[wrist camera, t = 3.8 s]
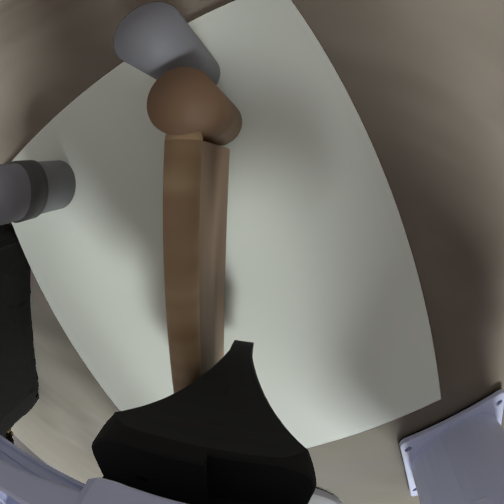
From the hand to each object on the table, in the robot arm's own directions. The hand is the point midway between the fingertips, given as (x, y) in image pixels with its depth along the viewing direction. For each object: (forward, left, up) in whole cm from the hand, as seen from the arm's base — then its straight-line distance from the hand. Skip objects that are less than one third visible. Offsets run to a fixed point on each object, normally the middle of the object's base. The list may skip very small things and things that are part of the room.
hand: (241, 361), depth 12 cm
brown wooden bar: (+4, 0, -1) cm, 4 cm away
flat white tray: (+3, +1, -3) cm, 4 cm away
